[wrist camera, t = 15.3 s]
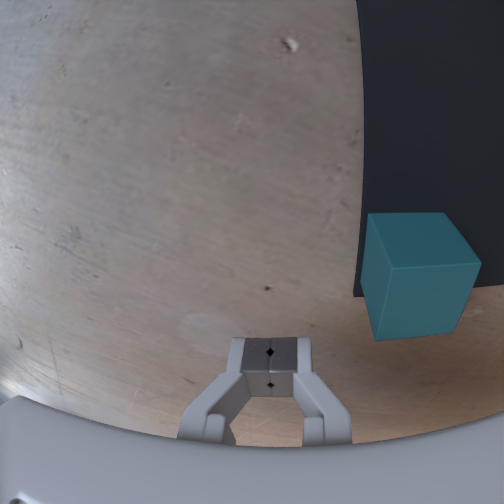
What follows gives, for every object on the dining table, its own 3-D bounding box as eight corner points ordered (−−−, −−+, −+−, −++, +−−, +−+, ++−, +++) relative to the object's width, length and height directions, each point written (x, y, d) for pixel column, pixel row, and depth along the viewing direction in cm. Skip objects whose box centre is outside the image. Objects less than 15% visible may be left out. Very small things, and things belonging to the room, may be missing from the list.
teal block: (367, 212, 15) (391, 268, 11) (444, 211, 14) (482, 263, 10) (359, 281, 17) (374, 342, 14) (428, 277, 17) (453, 333, 13)
